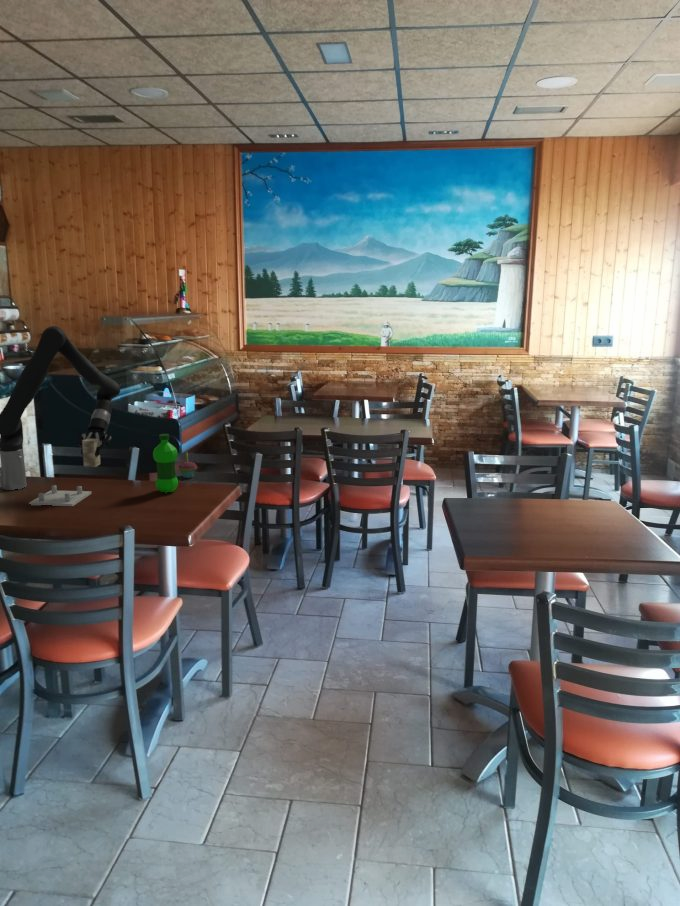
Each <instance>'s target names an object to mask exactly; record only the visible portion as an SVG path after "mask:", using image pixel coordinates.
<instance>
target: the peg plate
mask: <svg viewBox="0 0 680 906" xmlns="http://www.w3.org/2000/svg"><path fill="white" fill-rule="evenodd" d="M92 493H93V492H92V490H90V491H89V490H88V491H87V490H86V491H85V490H83V487H82V486H81V485H77V486H76V490H58V489H57V485H56V484H55V485H53V484H52V485H51V490H49V491H47V492H45V493H44V492H39V493H38V497H37V498H34V499H33V500H31V501H30V502H28V505H29V504H31V505H30V506H41V505H52V506H53V507H74V506H75V505H77V504H78V503H80V502H81V501H82V500H84V499H86V498H87V497H89V496H90V495H92Z"/></svg>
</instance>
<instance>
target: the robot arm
mask: <svg viewBox="0 0 680 906" xmlns="http://www.w3.org/2000/svg"><path fill="white" fill-rule="evenodd" d="M57 353H59V354H61V355H62V356H63V357H64V358H65V359H66V360H67V361H68V362H69V363H70V364H71V366H72V367H73V368H74V369H75V371H76V372H77V373H78V374H79V375H80V376H81V377H82V378H83V379H84V380H85V381H86V382H87V383H88V384H89V385H90V386H99V389H98V390H97V392H96V398H95V399H96V400H95V401H96V402H95V403H96V404H95V406H94V410H93V412H92V414H91V418H90V419H89V420H90V421H89V423H88V428H87V431H86V432H85V433H82V432H79V433H78V446H79V447H80V448H81V450H80V455H81V457H83V447H82V441H83V440H85V439H89V438H93V439H98V444H97V446H98V447H97V448H96V451H95V456H96V457H98V456H99V455H100V456H101V451H102V450H103V449H104V450H105V449H107V448H108V447H109V445H110V442H111V441H112V439H113V438H112V435H111V434H110V433H108V434H107V431H108V428H109V425H110V420H111V415H112V411H113V408H114V405H113V403H112V400H113V399H115V398H116V397H118V395H120V393H121V387H120V385H119V384H118V382H116V381H115V380H114V379H112V378H111V377H109V376H108V375H106V374H104V373H102V372H101V371H100V370H99V369H98V368H97V367H96V365H94V364H93V363H92V362H91V361H90V360H89V359H88V358H87V357H86V356H85V355H84V354H83V353H81V351H80V350H79V349H78V348H77V347H76V346H75V345H74V344H73V343H72V341H71V340H70V338H69V337H68V336H67V335H66V333H65V332H64V330H63V329H62V328H60V327H59V326H55V325H52V326H48V327H46V328H45V329H44V330H43V331H42V333H41V336H40V339H39V341H38V344H37V346H36V349H35V351H34V353H33V355H32V356H31V358H30V359H29V360H28V361H27V363H26V365H25V366H24V368H23V369H22V371H21V373H20V375H19V377H18V378H17V380H16V382H15V384H14V387H13V390H12V391H11V394H10V395H9V398H8V401H7V402H6V404H5V405H4V407H3V408H2V410H1V412H0V485H1V486H0V487H1V490H6V491H16V490H15V489H18V490H22V488H23V489H25V488H27V487H26V486H27V485H28V482H27V476H26V475H27V473H26V465H25V464H26V463H25V455H24V454H25V453H24V445H23V444H24V429H23V422H22V417H23V415H24V413H25V410H27V408H28V406H29V405H30V404H31V402H32V401H33V400H34V398H36V396H37V394H38V392H39V391H40V390H41V387H42V385H43V384H44V382H45V379H46V377H47V375H48V371H49V369H50V366H51V363H52V361H53V359H55V356H56V355H57ZM24 487H25V488H24Z"/></svg>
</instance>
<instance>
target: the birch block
mask: <svg viewBox="0 0 680 906" xmlns="http://www.w3.org/2000/svg"><path fill="white" fill-rule="evenodd" d="M97 444H98V439H93V438H89V439H86V438H85V439H84V440H83V441H82V447H83V456H82V458H83V467H86V468H87V467H88V468H97V467H98V466H99V465H101V454H100V455H99V456H98V457H96V456H95V451H96V448H97V447H98V446H97Z"/></svg>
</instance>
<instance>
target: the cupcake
mask: <svg viewBox="0 0 680 906" xmlns="http://www.w3.org/2000/svg"><path fill="white" fill-rule="evenodd" d="M185 454H186V461H184V462H181V463H180V464H179V465H178V471H179V472H180V473H181V475H182V478H186V479H190V478H193V477H194V475H195V471H196V470H197V469H198V465H197V464H196V463H195V462H194V461H189V453H188V452H186V453H185Z"/></svg>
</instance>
